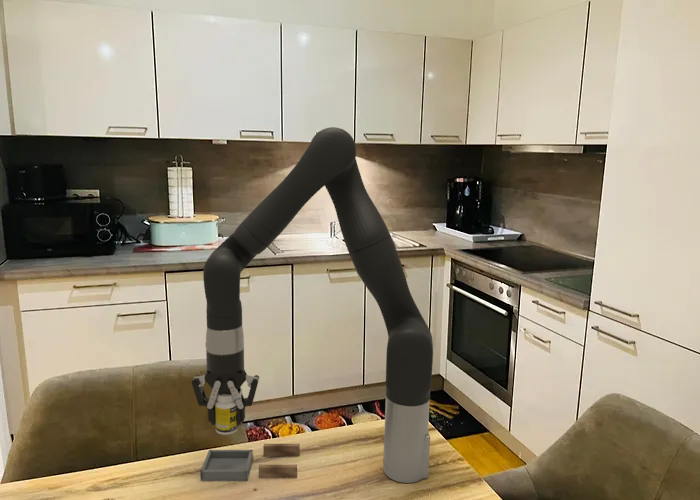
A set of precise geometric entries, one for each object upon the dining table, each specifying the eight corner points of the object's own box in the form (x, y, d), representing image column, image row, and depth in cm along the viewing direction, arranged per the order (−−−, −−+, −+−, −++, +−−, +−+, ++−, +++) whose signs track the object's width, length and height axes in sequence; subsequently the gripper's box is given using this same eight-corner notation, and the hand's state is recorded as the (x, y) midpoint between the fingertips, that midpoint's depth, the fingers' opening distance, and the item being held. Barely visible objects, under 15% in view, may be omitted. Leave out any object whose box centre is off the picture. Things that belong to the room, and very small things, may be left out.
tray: (253, 458, 116) (252, 449, 116) (247, 481, 108) (247, 471, 108) (209, 458, 116) (209, 449, 115) (200, 481, 108) (200, 471, 107)
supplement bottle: (232, 436, 107) (232, 398, 106) (211, 433, 108) (210, 396, 107) (242, 425, 112) (241, 388, 111) (221, 422, 113) (220, 386, 111)
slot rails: (299, 453, 118) (299, 443, 118) (297, 478, 109) (297, 467, 109) (264, 453, 118) (263, 443, 117) (258, 478, 109) (258, 467, 109)
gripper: (262, 340, 111) (263, 414, 114) (194, 339, 110) (197, 414, 113) (257, 353, 103) (258, 432, 107) (184, 353, 103) (187, 432, 106)
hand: (226, 422), depth 110 cm, fingers closed on supplement bottle, 4 cm apart
